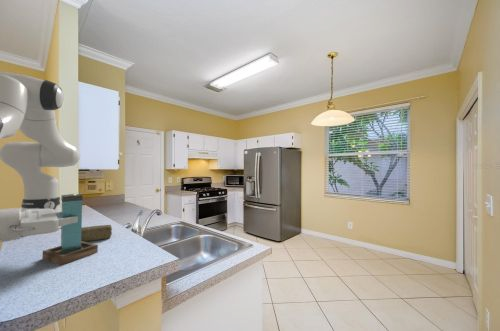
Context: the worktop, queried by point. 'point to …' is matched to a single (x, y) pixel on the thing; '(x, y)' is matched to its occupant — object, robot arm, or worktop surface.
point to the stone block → (96, 233)
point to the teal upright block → (73, 230)
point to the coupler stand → (61, 259)
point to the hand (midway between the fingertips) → (75, 216)
